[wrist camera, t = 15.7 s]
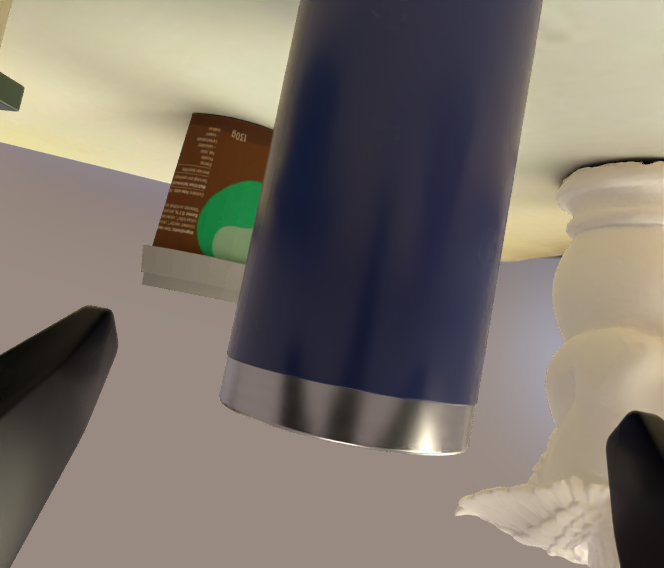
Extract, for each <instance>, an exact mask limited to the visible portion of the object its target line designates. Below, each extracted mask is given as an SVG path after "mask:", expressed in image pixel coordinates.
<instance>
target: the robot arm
mask: <svg viewBox="0 0 664 568" xmlns="http://www.w3.org/2000/svg"><path fill="white" fill-rule="evenodd" d="M117 349H118V338H117V332H116V326H115V320H114V315H113V313H112V311H111V310H110V309H108V308H102V307H97V306H92V305H87V306H84V307H82V308H80V309H79V310H77V311H75V312H73V313H72V314H70V315H68V316H67V317H65V318H63V319H61V320H60V321H58V322H56V323H54V324H53V325H51V326H49V327H48V328H46V329H44V330H42V331H41V332H39V333H37V334H35V335H34V336H32V337H30V338H28V339H27V340H25V341H23V342H22V343H20V344H18V345H16V346H15V347H13V348H11V349H9V350H8V351H6V352H4V353H3V354H1V355H0V568H10V567H11V565H12V563H13V561H14V559H15V558H16V556H17V554H18V552H19V550H20V549H21V547H22V545H23V543H24V541H25V539H26V538H27V536H28V534H29V532H30V530H31V528H32V527H33V525H34V523H35V521H36V520H37V518H38V516H39V514H40V512H41V510H42V509H43V507H44V505H45V503H46V501H47V499H48V498H49V496H50V494H51V492H52V490H53V489H54V487H55V485H56V483H57V481H58V479H59V477H60V476H61V474H62V472H63V470H64V469H65V467H66V465H67V463H68V461H69V459H70V458H71V456H72V454H73V452H74V450H75V448H76V447H77V445H78V443H79V441H80V439H81V437H82V435H83V433H84V431H85V429H86V427H87V424H88V422H89V420H90V417H91V415H92V412H93V410H94V407H95V405H96V403H97V400H98V398H99V395H100V393H101V390H102V388H103V386H104V383H105V381H106V378H107V376H108V373H109V371H110V368H111V366H112V364H113V361H114V358H115V356H116V353H117ZM606 459H607V470H608V481H609V491H610V502H611V513H612V523H613V530H614V537H615V543H616V548H617V553H618V558H619V563H620V568H664V420H663V419H662V418H661V417H659V416H658V415H656V414H652V413H647V412H642V411H637V410H633V411H631V412H629V413H628V414H627V415H626V416H625V417H624V418H623V419H622V421H621V422H620V423H619V424H618V426H617V427H616V428H615V429H614V430H613V432H612V433H611V434H610V436H609V437H608V439H607V443H606Z"/></svg>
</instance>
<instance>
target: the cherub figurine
mask: <svg viewBox="0 0 664 568" xmlns="http://www.w3.org/2000/svg"><path fill="white" fill-rule="evenodd" d="M641 163H643V162H635V161H631V162H625V163H623V162H619V163H609V164H604V165H601V166H599V167H593V168H591V167H585V168H582V169H577V171H576V172H574V173H572V174H571V175H570V176H568V178H565V179H564V180H562V181H563V184H562V185H561V186H560V188H559V189H558V191H557V195H556V200H557V203H558V205H559V206H560V208H561V209H562V210H564V211H565V212H567V213H568V214H570V215H572V216H573V219H572V220H571V221H570V222H569V223H568V224H567V227H566V232H567V234H568V235H569V237H571V238H572V239H573V241H572V242H571V243H570V245H569V247H568V248H567V250H566V251H565V253H564V254H563V256H562V258H561V260H560V262H559V265H558V267H557V270H556V273H555V276H554V281H553V289H552V299H553V307H554V312H555V317H556V321H557V324H558V327H559V330H560V333H561V335H562V337H563V340H564V342H565V343H564V344H563V345H562V346H561V347H560V348H559V349H558V350H557V352H556V353H555V354H554V356H553V357H552V359H551V361H550V363H549V366H548V368H547V372H546V381H545V383H546V384H545V386H546V396H547V400H548V403H549V407H550V412H551V416H552V419H553V422H554V423H555V425H556V426H557V427H556V428H555V429H554V430H553V431H552V433H551V435H550V437H549V440H548V443H547V452H546V453H543V454H541V457H540V461H538V462H537V463H536V465H535V466H534V467H533V468H532V471H533V475H532V476H531V477H530V478H529V481H528V482H527V484H519V485H516V486H512V487H511V488H507V487H502V486H501V487H495V488H494V489H484V490H482V491H479V492H477V493H476V494H471V495H467V496H465V497H463V498H462V499H461V500H460V501H459V504H458V505H459V506H458V508H457V509H456V511H455V515H456V516H460V515H465V514H470V515H475V516H479V518H481V519H483V520H485V521H487V522H490V523H493V524H494V525H495V526H496V527H497V528H499V530H501V531H503V532H506V533H507V534H510V535H512V538H513V539H515V540H516V541H518V542H520V543H522V544H524V545H529V546H535V547H541V548H542V549H543V550H547V554H548V555H550V556H561V557H564V558H565V559H568V560H569V561H571V562H572V563H578V564H588V566H589V567H590V568H620V563H619V558H618V553H617V548H616V543H615V537H614V530H613V523H612V513H611V502H610V491H609V481H608V470H607V459H606V443H607V439H608V437H609V436H610V434H611V433H612V432H613V430H614V429H615V428H616V427H617V426H618V424H619V423H620V422H621V421H622V419H623V418H624V417H625V416H626V415H627V414H628V413H629V412H631V411H633V410H637V411H642V412H647V413H652V414H656V415H658V416H659V417H661V418H662V419H663V420H664V162H663V161H658V162H654V163H653V164H652V163H650V164H648V165H644V164H641Z"/></svg>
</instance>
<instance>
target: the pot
mask: <svg viewBox="0 0 664 568" xmlns="http://www.w3.org/2000/svg"><path fill="white" fill-rule="evenodd" d="M12 1H13V0H0V47H1V43H2V40H3V36H4V32H5V28H6V24H7V20H8V17H9V13H10V9H11V5H12ZM23 93H24V87H23V86H22V85H20V84H19V83H17V82H15V81H14V80H12V79H11V78H9V77H7V76H6V75H4V74H3V73H1V72H0V110H8V111H19V108H20V104H21V100H22V97H23Z"/></svg>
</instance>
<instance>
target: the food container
mask: <svg viewBox="0 0 664 568" xmlns="http://www.w3.org/2000/svg"><path fill="white" fill-rule="evenodd" d="M272 135H273V130H270V129H268V128H265V127H262V126H259V125H256V124H252V123H249V122H246V121H242V120H237V119H233V118H228V117H223V116H217V115H209V114H192V117H191V121H190V124H189V127H188V130H187V134H186V137H185V140H184V144H183V147H182V150H181V153H180V157H179V160H178V163H177V167H176V170H175V173H174V176H173V180H172V183H171V186H170V189H169V193H168V196H167V200H166V203H165V206H164V210H163V212H162V216H161V219H160V223H159V226H158V229H157V232H156V236H155V239H154V242H153V245H152V246H149V245H143V254H142V266H141V272H144V276H143V281H142V284H143V285H148V286H154V287H159V288H164V289H168V290H174V291H179V292H184V293H189V294H195V295H199V296H204V297H210V298H215V299H220V300H225V301H230V302H234V303H238V298H239V294H240V289H241V284H242V279H243V274H244V269H245V265H246V260H247V255H248V250H249V245H250V241H251V236H252V231H253V226H254V221H255V217H256V212H257V207H258V202H259V197H260V193H261V188H262V183H263V178H264V173H265V168H266V164H267V159H268V154H269V149H270V144H271V140H272Z"/></svg>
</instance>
